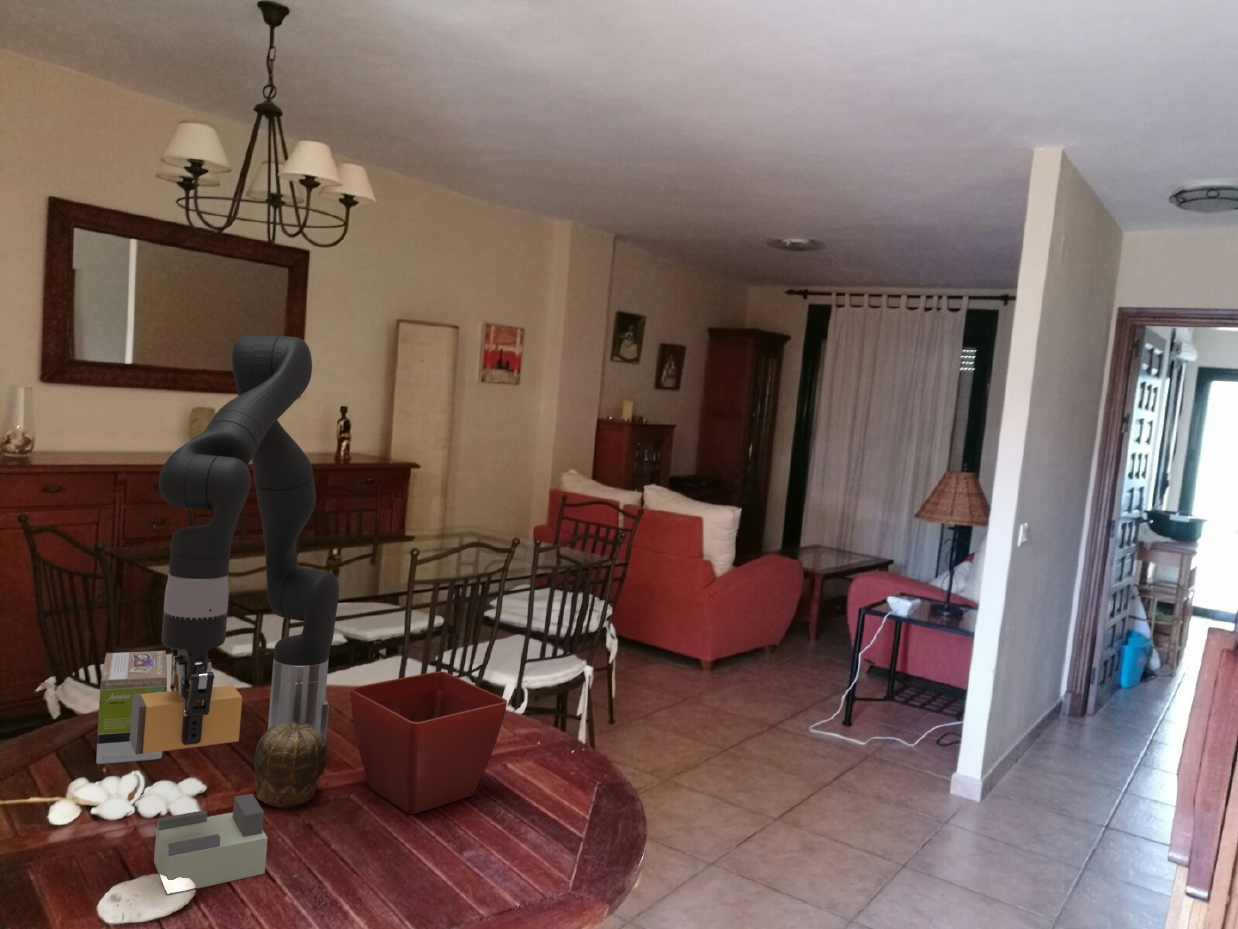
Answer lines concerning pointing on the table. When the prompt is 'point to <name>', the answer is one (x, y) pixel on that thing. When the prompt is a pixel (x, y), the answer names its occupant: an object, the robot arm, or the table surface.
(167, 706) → the orange rectangular block
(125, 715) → the tea box
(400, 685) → the plant pot
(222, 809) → the table surface
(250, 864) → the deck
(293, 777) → the shell
